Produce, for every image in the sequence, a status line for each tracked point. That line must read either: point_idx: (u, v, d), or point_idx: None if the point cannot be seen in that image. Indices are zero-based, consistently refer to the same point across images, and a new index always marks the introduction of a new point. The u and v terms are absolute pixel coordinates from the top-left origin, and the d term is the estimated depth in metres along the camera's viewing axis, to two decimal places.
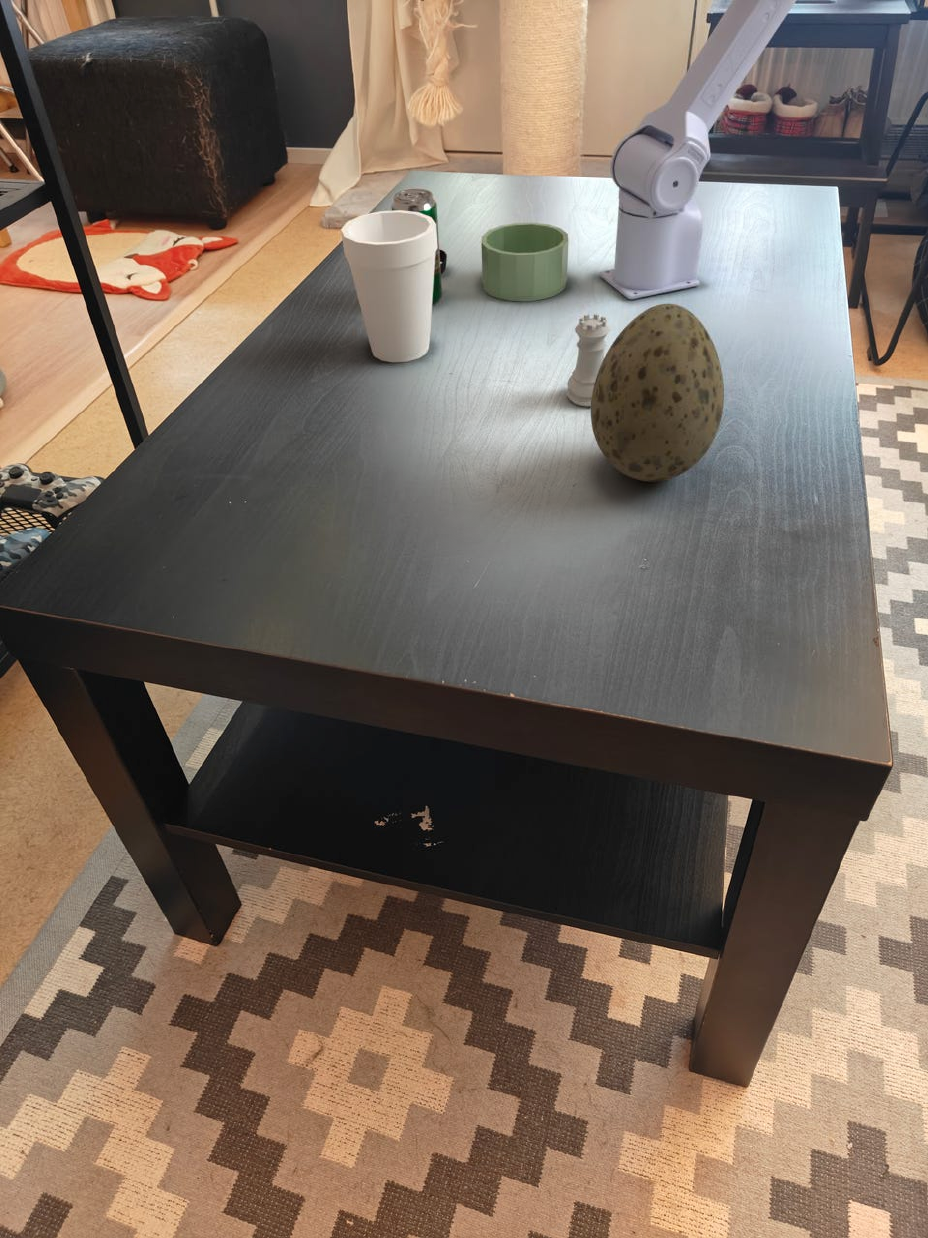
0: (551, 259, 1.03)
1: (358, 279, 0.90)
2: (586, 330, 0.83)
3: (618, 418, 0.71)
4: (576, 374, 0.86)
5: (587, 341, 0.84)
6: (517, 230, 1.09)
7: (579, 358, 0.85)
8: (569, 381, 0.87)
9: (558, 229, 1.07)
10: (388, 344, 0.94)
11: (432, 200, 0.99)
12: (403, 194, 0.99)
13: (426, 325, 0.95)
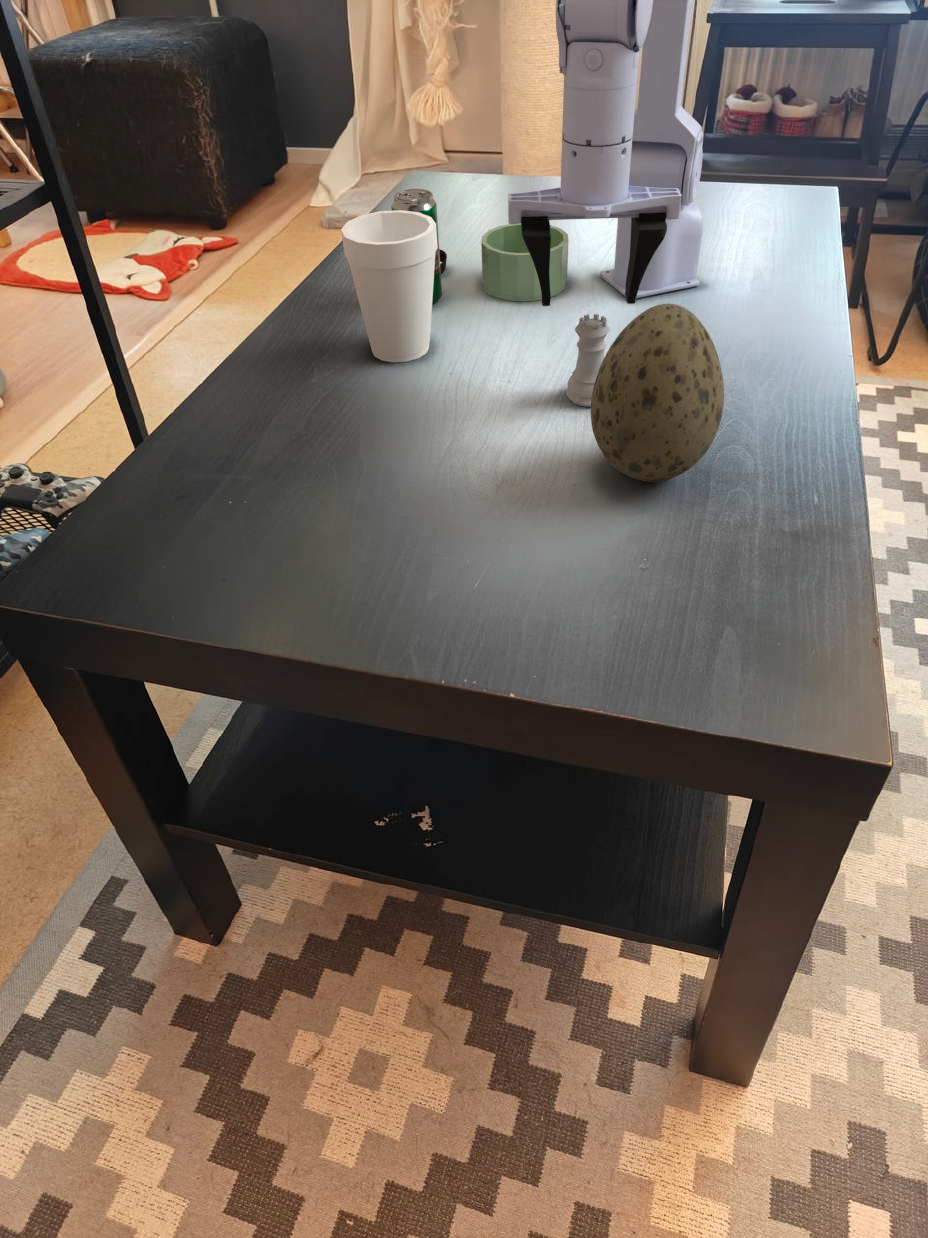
0: (551, 259, 1.03)
1: (358, 279, 0.90)
2: (586, 330, 0.83)
3: (618, 418, 0.71)
4: (576, 374, 0.86)
5: (587, 340, 0.84)
6: (517, 230, 1.09)
7: (579, 358, 0.85)
8: (569, 381, 0.87)
9: (558, 229, 1.07)
10: (388, 344, 0.94)
11: (432, 200, 0.99)
12: (403, 194, 0.99)
13: (426, 325, 0.95)
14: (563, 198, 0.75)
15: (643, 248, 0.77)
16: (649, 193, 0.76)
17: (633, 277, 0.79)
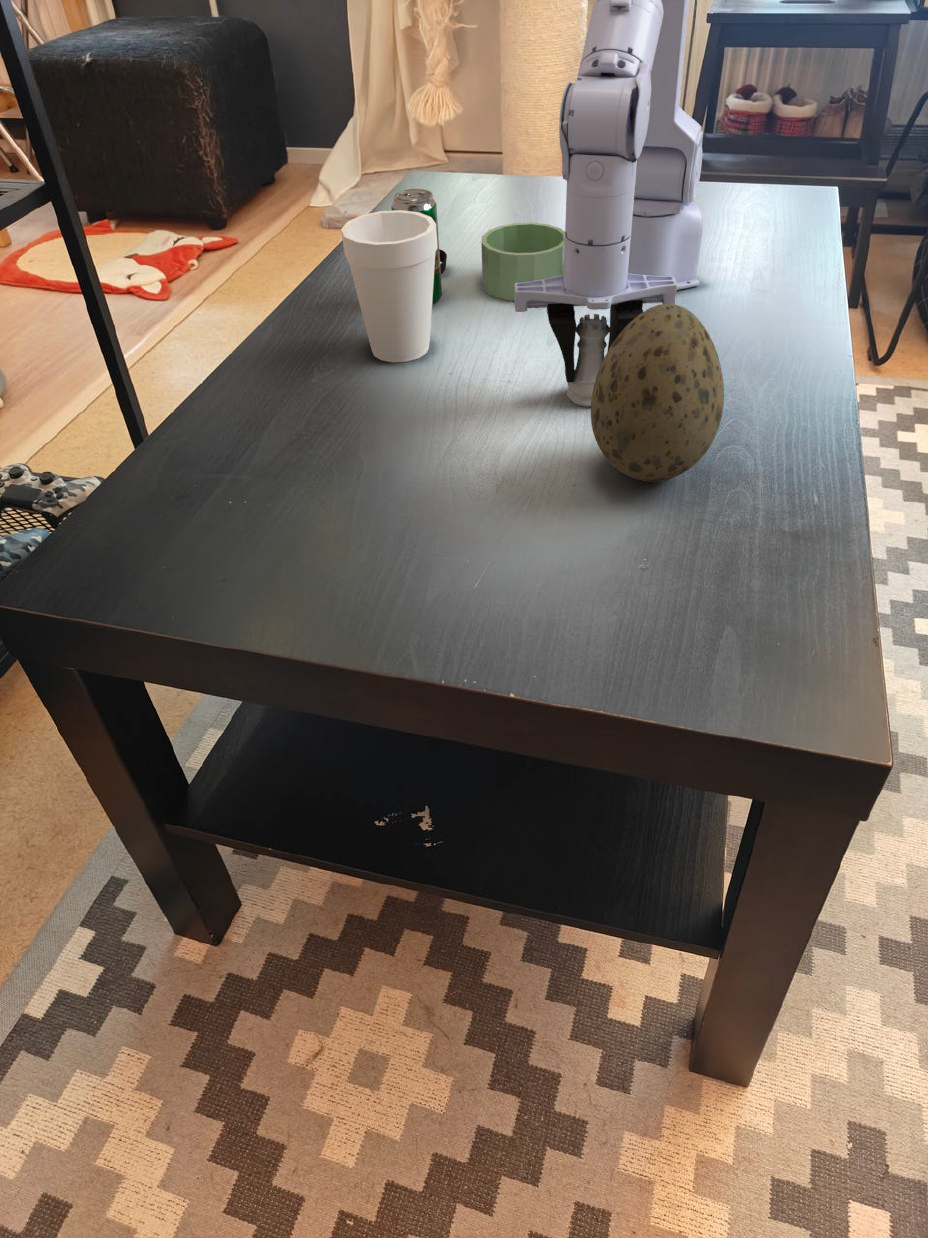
0: (551, 259, 1.03)
1: (358, 279, 0.90)
2: (586, 330, 0.83)
3: (618, 418, 0.71)
4: (576, 374, 0.86)
5: (588, 340, 0.84)
6: (517, 230, 1.09)
7: (579, 358, 0.85)
8: None
9: (558, 229, 1.07)
10: (388, 344, 0.94)
11: (432, 200, 0.99)
12: (403, 194, 0.99)
13: (426, 325, 0.95)
14: (566, 289, 0.80)
15: None
16: (647, 282, 0.81)
17: None
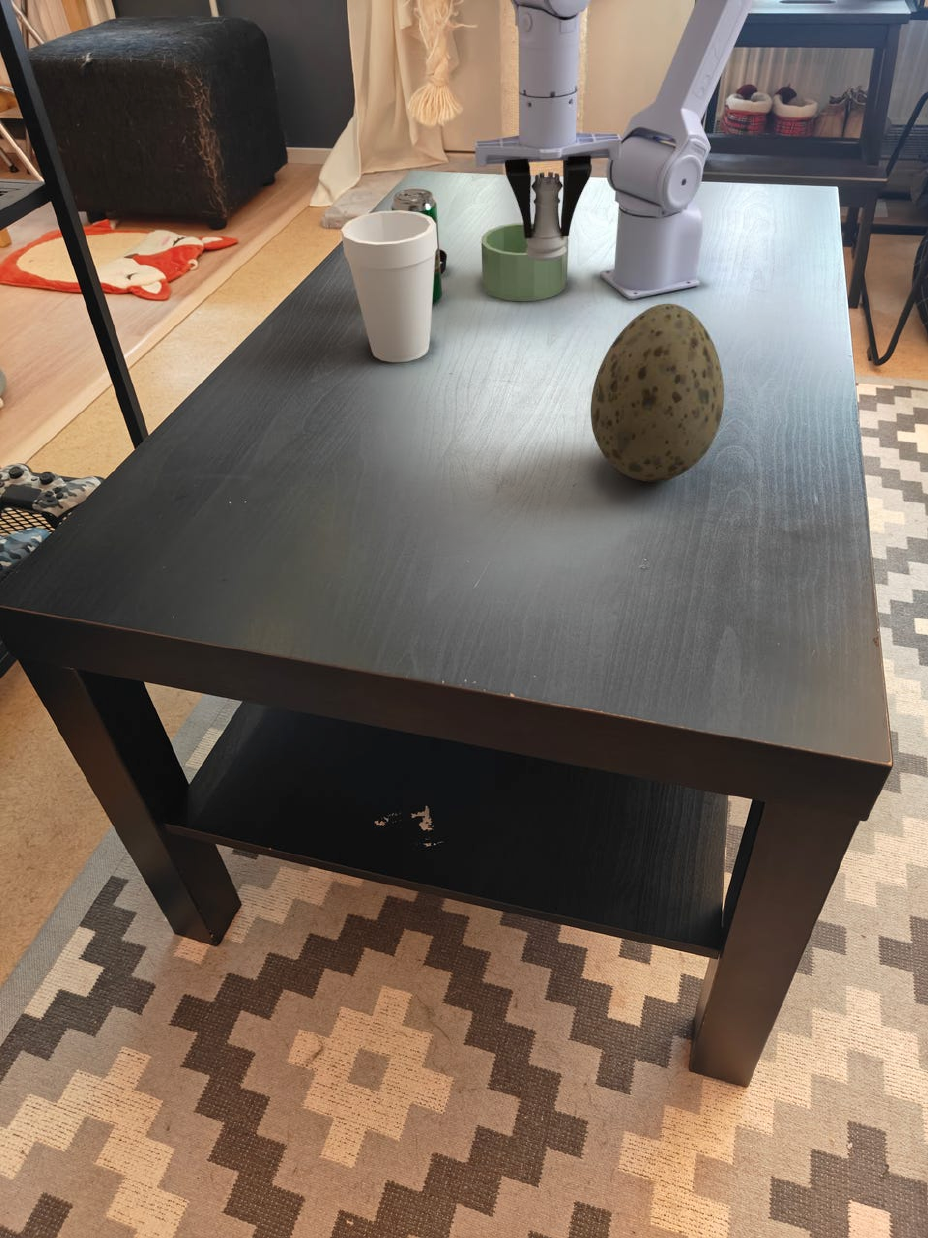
0: None
1: (358, 279, 0.90)
2: (541, 185, 0.91)
3: (618, 418, 0.71)
4: (533, 230, 0.95)
5: (542, 195, 0.92)
6: (517, 230, 1.09)
7: (536, 214, 0.94)
8: (528, 238, 0.96)
9: None
10: (388, 344, 0.94)
11: (432, 200, 0.99)
12: (403, 194, 0.99)
13: (426, 325, 0.95)
14: (521, 143, 0.89)
15: (572, 186, 0.91)
16: (594, 138, 0.89)
17: (566, 212, 0.93)
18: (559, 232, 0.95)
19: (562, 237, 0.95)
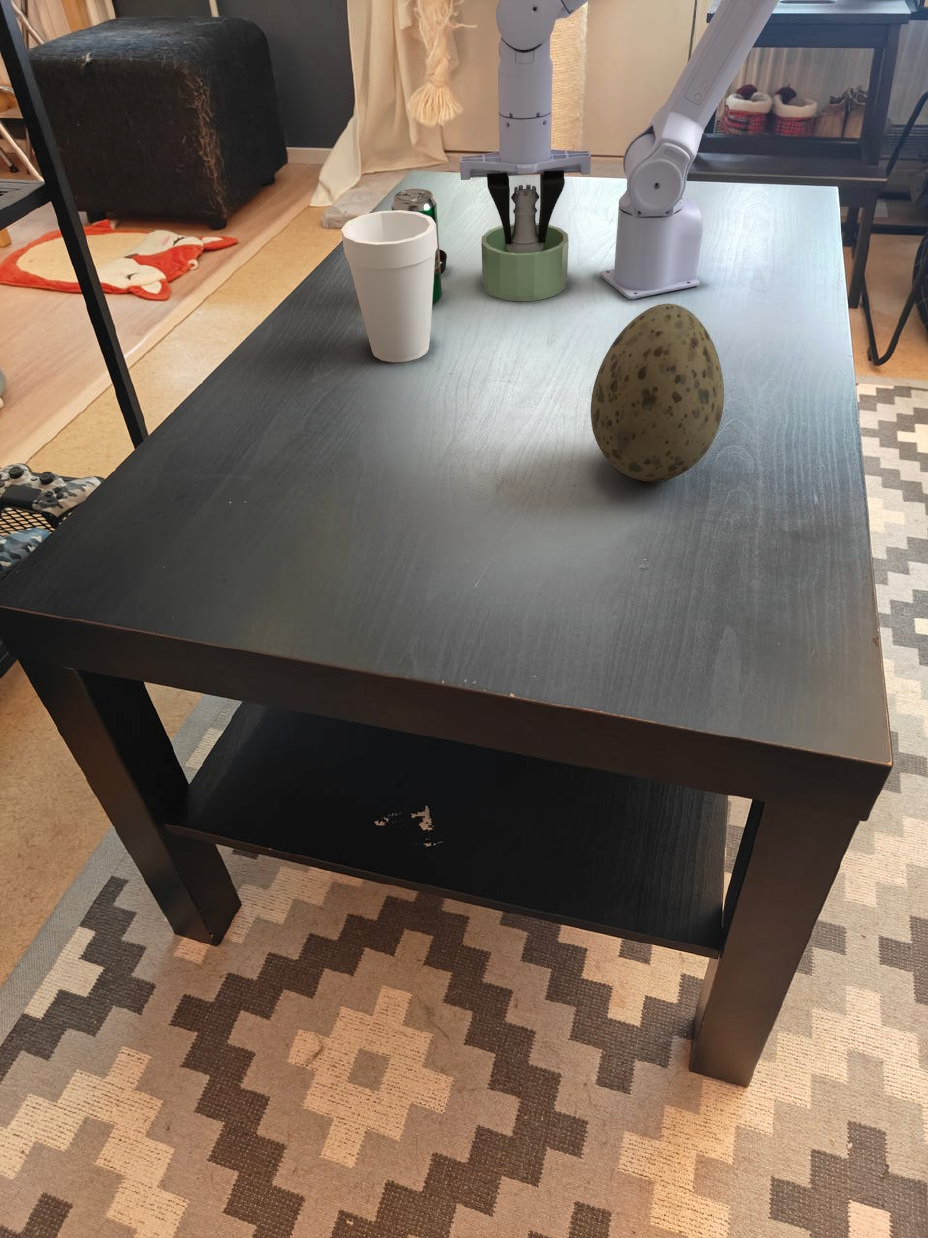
0: (551, 259, 1.03)
1: (358, 279, 0.90)
2: (519, 196, 1.01)
3: (618, 418, 0.71)
4: (513, 236, 1.05)
5: (521, 205, 1.02)
6: None
7: (515, 222, 1.04)
8: (508, 244, 1.06)
9: (558, 229, 1.07)
10: (388, 344, 0.94)
11: (432, 200, 0.99)
12: (403, 194, 0.99)
13: (426, 325, 0.95)
14: (501, 159, 0.99)
15: (547, 198, 1.00)
16: (567, 154, 0.99)
17: (542, 221, 1.03)
18: (536, 239, 1.05)
19: (539, 243, 1.05)
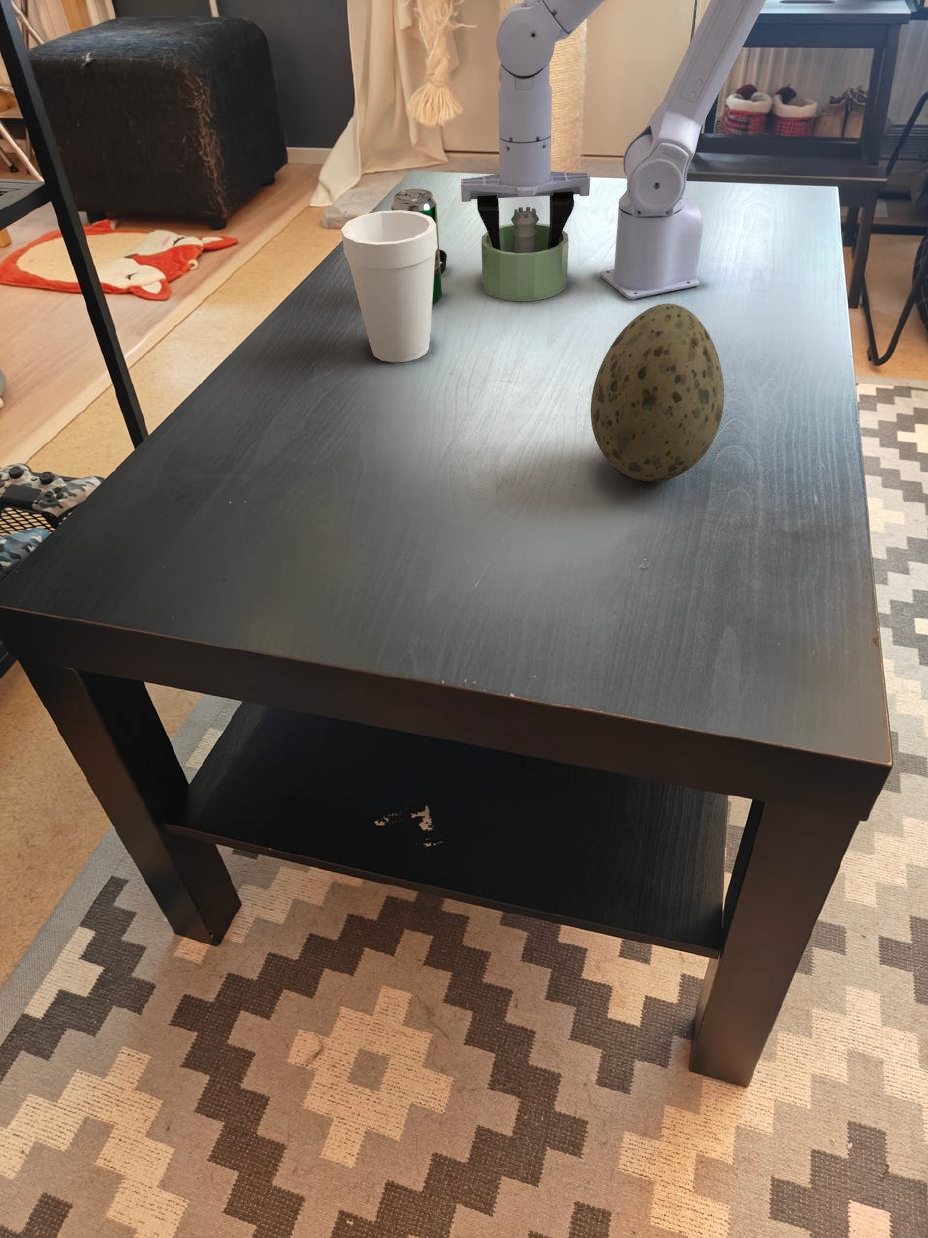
0: (551, 259, 1.03)
1: (358, 279, 0.90)
2: (519, 218, 1.03)
3: (618, 418, 0.71)
4: None
5: (521, 228, 1.04)
6: None
7: (515, 244, 1.06)
8: None
9: None
10: (388, 344, 0.94)
11: (432, 200, 0.99)
12: (403, 194, 0.99)
13: (426, 325, 0.95)
14: (501, 181, 1.00)
15: (557, 218, 1.02)
16: (566, 177, 1.01)
17: (551, 241, 1.04)
18: None
19: None
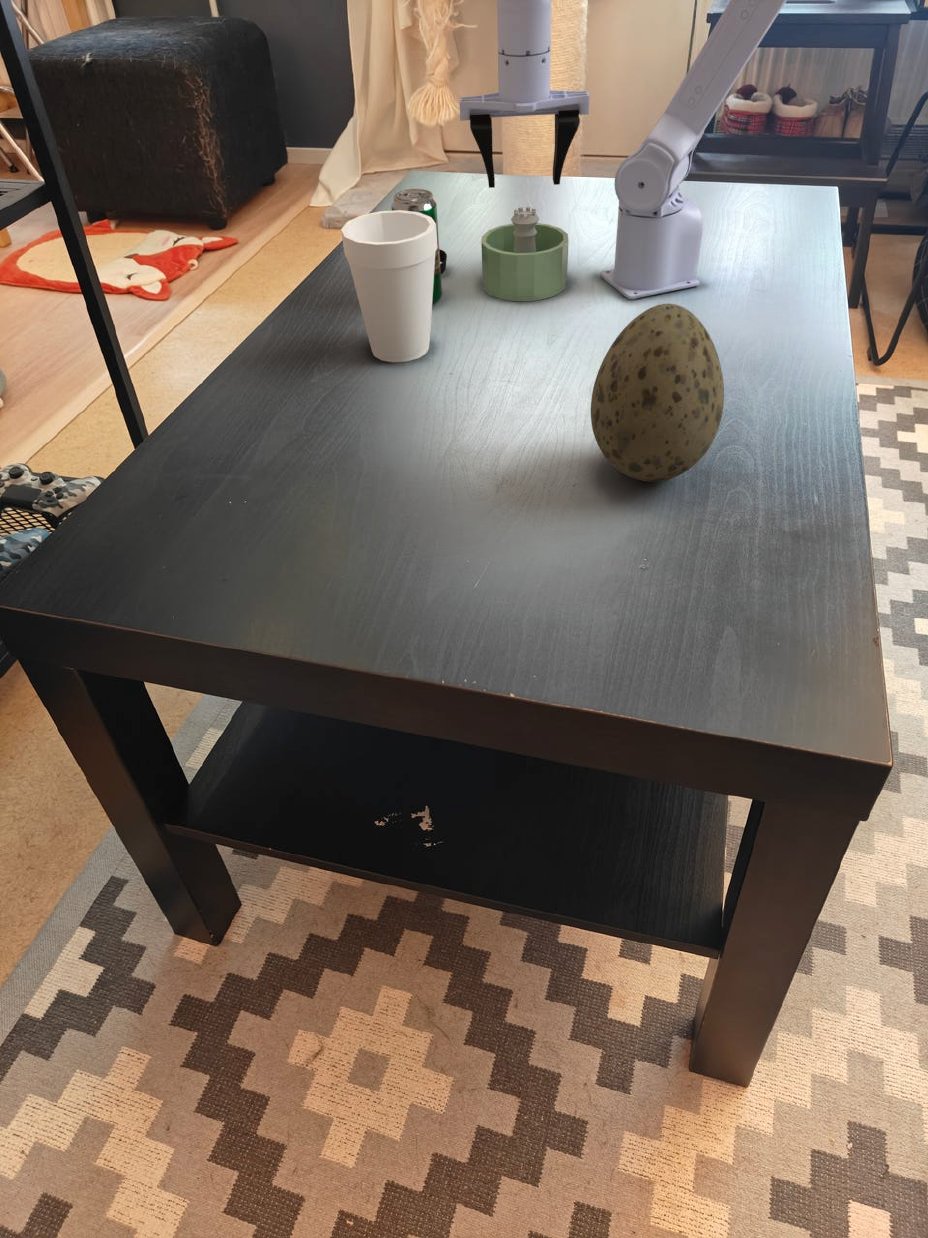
0: (551, 259, 1.03)
1: (358, 279, 0.90)
2: (519, 218, 1.03)
3: (618, 418, 0.71)
4: None
5: (521, 228, 1.04)
6: None
7: (515, 244, 1.06)
8: None
9: (558, 229, 1.07)
10: (388, 344, 0.94)
11: (432, 200, 0.99)
12: (403, 194, 0.99)
13: (426, 325, 0.95)
14: (500, 99, 0.99)
15: (562, 137, 1.01)
16: (565, 94, 1.00)
17: (557, 162, 1.03)
18: None
19: None
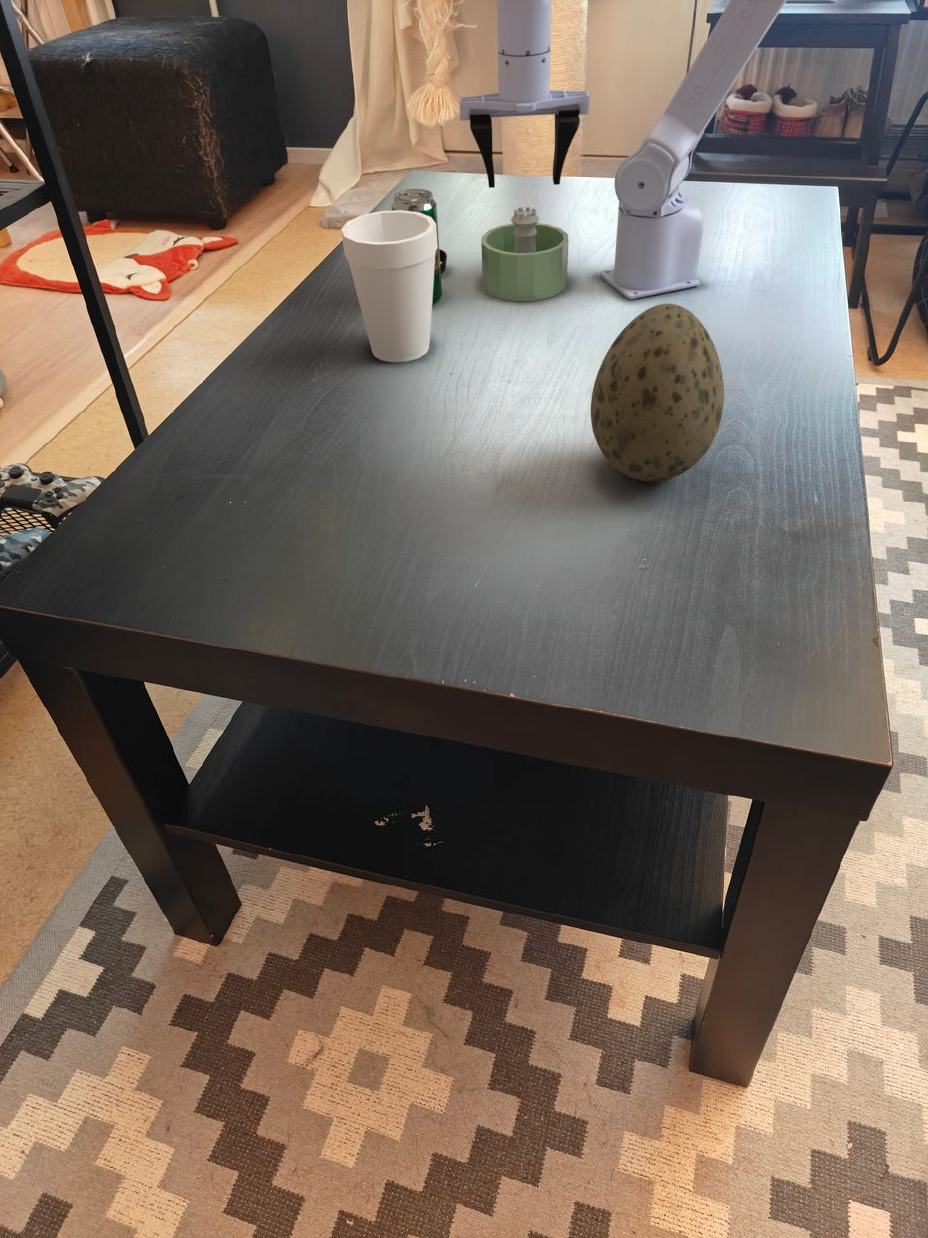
0: (551, 259, 1.03)
1: (358, 279, 0.90)
2: (519, 218, 1.03)
3: (618, 418, 0.71)
4: None
5: (521, 228, 1.04)
6: None
7: (515, 244, 1.06)
8: None
9: (558, 229, 1.07)
10: (388, 344, 0.94)
11: (432, 200, 0.99)
12: (403, 194, 0.99)
13: (426, 325, 0.95)
14: (500, 99, 0.99)
15: (562, 137, 1.01)
16: (565, 94, 1.00)
17: (557, 162, 1.03)
18: None
19: None
